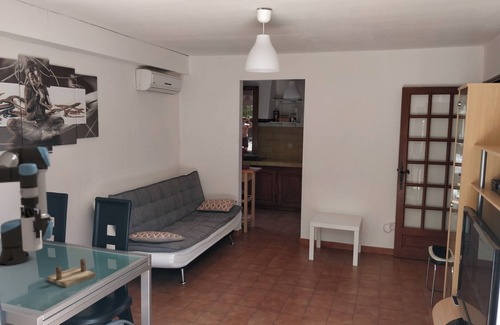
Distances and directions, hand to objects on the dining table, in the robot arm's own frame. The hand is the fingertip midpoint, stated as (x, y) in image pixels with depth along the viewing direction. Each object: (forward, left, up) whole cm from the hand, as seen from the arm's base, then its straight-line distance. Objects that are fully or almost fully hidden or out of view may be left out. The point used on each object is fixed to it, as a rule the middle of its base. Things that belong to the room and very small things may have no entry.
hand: (32, 243), depth 196 cm
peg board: (+7, +15, -21) cm, 27 cm away
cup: (0, 0, -3) cm, 3 cm away
